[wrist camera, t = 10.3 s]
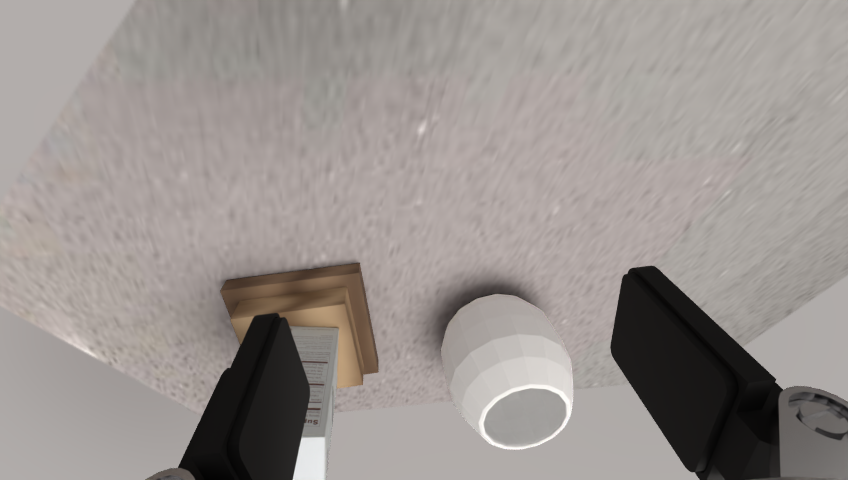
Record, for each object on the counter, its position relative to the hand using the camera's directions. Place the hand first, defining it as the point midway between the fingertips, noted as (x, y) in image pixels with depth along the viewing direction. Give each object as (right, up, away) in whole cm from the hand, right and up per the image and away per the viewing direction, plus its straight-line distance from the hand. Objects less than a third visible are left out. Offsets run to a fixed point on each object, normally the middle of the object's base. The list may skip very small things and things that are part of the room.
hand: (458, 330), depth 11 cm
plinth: (-14, -7, +35) cm, 38 cm away
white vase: (+7, -8, +38) cm, 39 cm away
